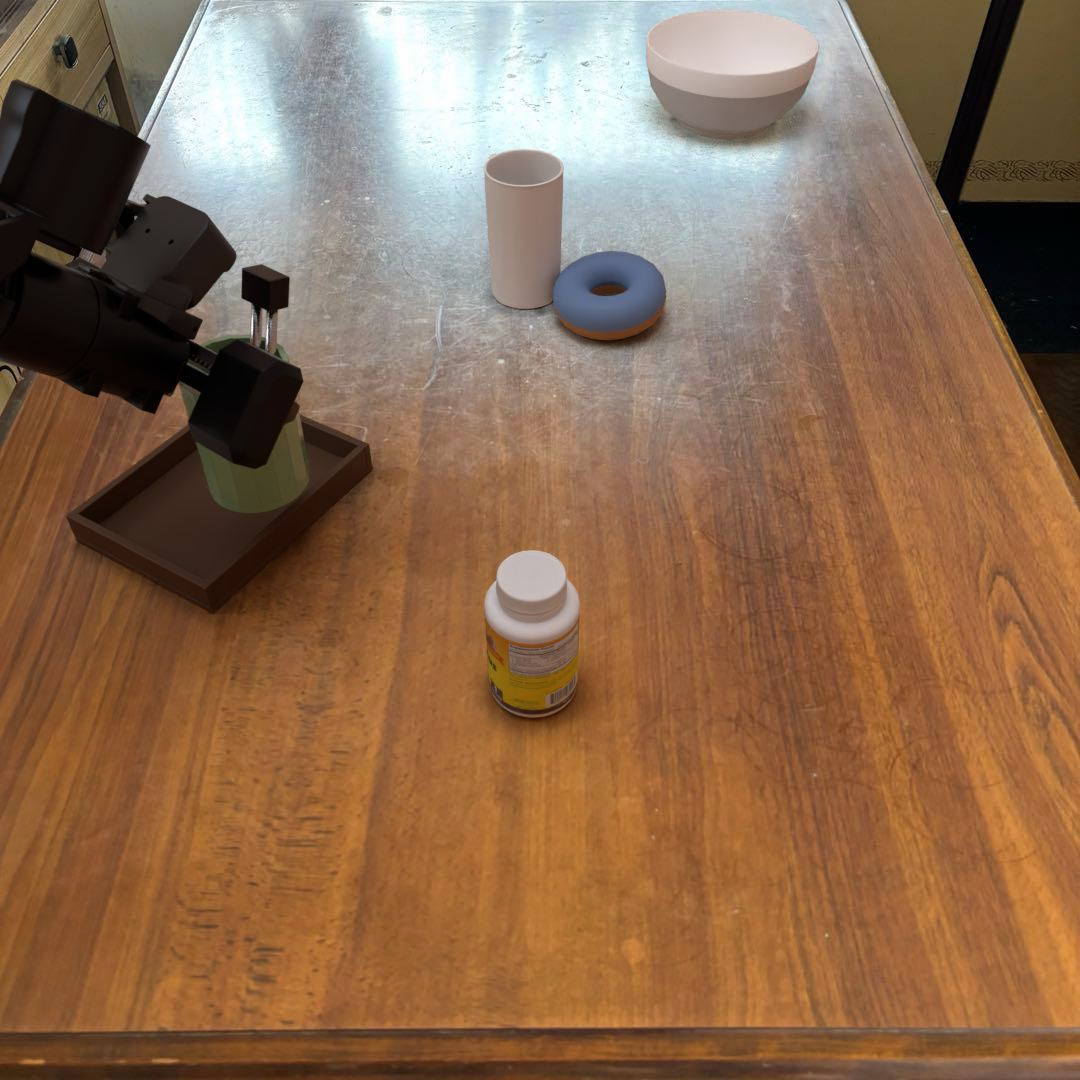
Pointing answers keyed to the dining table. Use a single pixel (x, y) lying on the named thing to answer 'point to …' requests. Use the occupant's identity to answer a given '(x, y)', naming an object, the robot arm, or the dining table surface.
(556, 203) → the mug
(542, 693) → the supplement bottle
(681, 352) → the dining table surface
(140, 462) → the tray
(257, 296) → the black component with leads
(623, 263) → the doughnut
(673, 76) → the bowl
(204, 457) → the cup
